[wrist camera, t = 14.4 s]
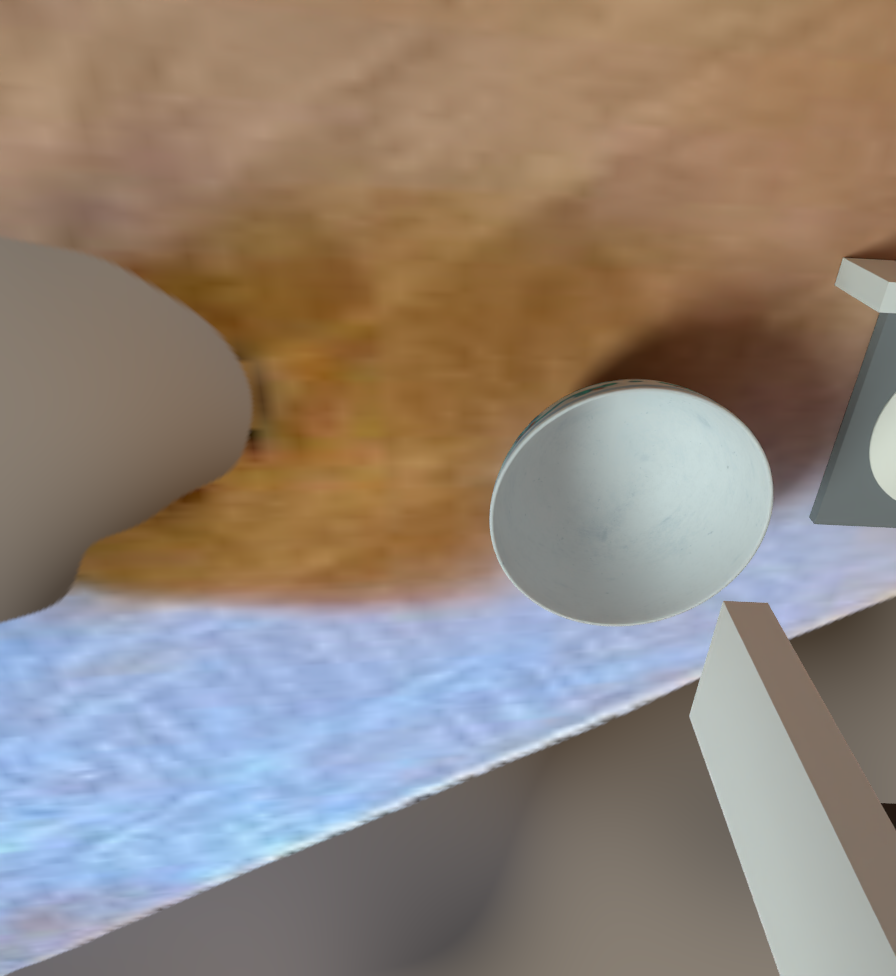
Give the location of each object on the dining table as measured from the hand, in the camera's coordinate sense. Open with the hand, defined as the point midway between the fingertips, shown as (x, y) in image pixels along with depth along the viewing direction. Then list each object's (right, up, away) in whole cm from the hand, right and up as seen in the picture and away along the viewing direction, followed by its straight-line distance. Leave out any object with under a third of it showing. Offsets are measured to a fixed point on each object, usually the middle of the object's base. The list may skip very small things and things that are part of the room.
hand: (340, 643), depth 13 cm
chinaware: (+12, +5, +34) cm, 36 cm away
